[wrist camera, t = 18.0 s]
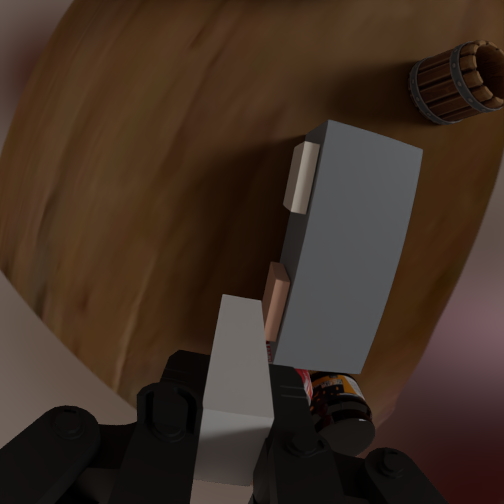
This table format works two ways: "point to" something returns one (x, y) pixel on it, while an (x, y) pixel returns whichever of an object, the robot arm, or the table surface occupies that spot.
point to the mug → (459, 82)
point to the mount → (345, 248)
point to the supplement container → (341, 413)
